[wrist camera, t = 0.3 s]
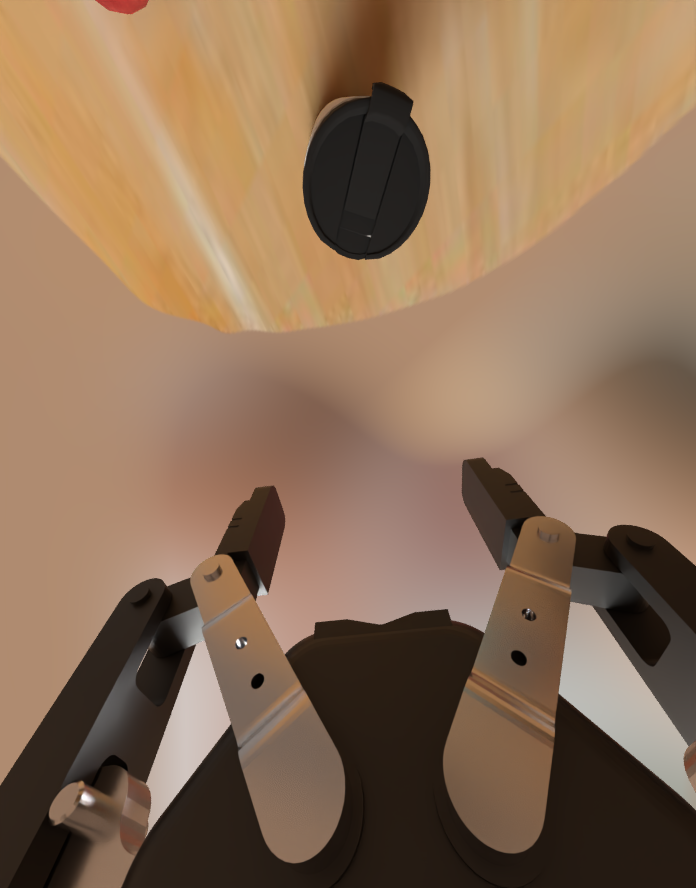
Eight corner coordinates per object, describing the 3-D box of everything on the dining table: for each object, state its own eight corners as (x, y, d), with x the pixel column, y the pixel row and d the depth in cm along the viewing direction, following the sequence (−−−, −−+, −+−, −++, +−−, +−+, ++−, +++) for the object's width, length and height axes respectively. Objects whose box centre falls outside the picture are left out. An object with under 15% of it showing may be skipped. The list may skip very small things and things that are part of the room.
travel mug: (391, 108, 26) (465, 118, 12) (366, 203, 30) (401, 282, 17) (319, 76, 24) (317, 49, 11) (305, 181, 29) (291, 249, 16)
